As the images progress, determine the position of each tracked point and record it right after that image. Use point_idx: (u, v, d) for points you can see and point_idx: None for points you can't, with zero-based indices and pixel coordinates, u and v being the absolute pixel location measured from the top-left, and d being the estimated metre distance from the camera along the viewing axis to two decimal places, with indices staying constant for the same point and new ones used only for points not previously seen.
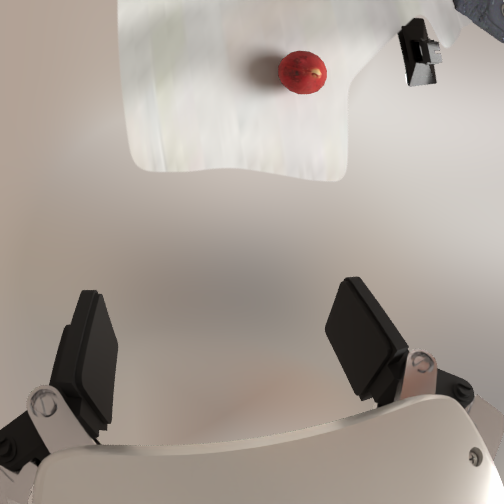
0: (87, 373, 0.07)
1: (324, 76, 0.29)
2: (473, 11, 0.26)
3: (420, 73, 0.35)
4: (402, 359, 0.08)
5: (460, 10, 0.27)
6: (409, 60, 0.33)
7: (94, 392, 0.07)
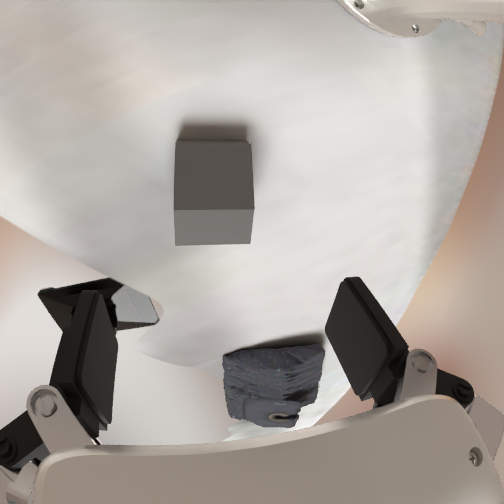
0: (87, 373, 0.07)
1: None
2: (239, 380, 0.36)
3: (62, 312, 0.26)
4: (402, 359, 0.08)
5: (226, 362, 0.34)
6: (72, 295, 0.25)
7: (94, 392, 0.07)
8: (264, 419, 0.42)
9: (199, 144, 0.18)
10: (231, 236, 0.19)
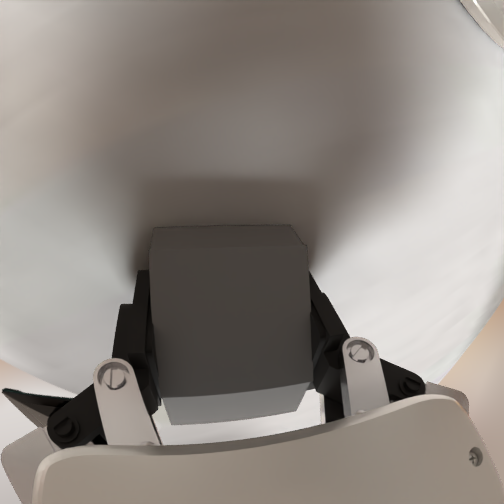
0: (154, 345, 0.08)
1: None
2: None
3: (34, 415, 0.16)
4: (342, 347, 0.09)
5: None
6: (46, 406, 0.15)
7: None
8: None
9: (200, 252, 0.09)
10: (267, 410, 0.10)
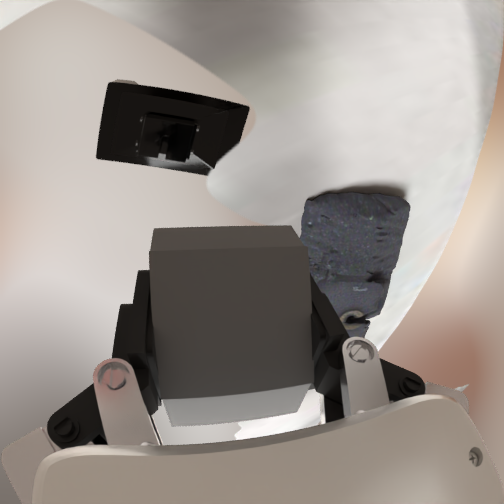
0: (154, 345, 0.08)
1: None
2: (319, 245, 0.31)
3: (124, 116, 0.20)
4: (342, 347, 0.09)
5: (308, 211, 0.29)
6: (157, 97, 0.20)
7: None
8: None
9: (200, 254, 0.09)
10: (268, 412, 0.10)
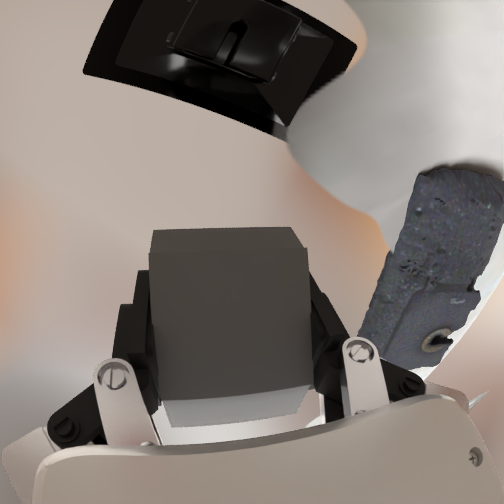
0: (154, 345, 0.08)
1: None
2: (425, 241, 0.19)
3: (153, 4, 0.09)
4: (342, 347, 0.09)
5: (419, 192, 0.17)
6: None
7: None
8: (414, 349, 0.25)
9: (200, 255, 0.09)
10: (267, 412, 0.10)
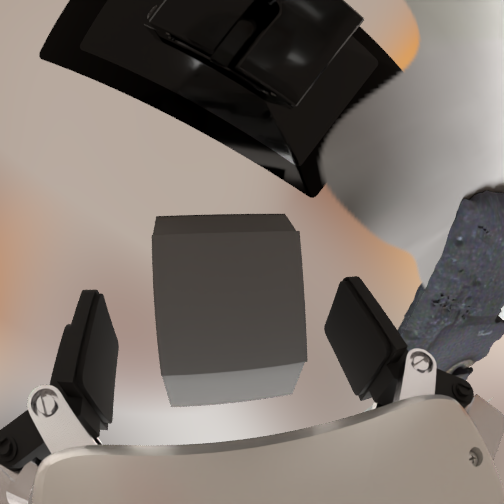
0: (88, 373, 0.07)
1: None
2: (462, 274, 0.15)
3: None
4: (401, 359, 0.08)
5: (462, 219, 0.14)
6: None
7: (95, 392, 0.07)
8: None
9: (199, 237, 0.09)
10: (264, 392, 0.11)
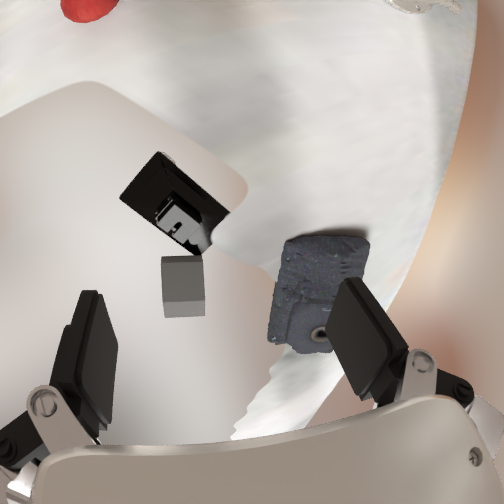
0: (87, 373, 0.07)
1: (78, 5, 0.13)
2: (295, 275, 0.40)
3: (155, 183, 0.30)
4: (402, 359, 0.08)
5: (287, 250, 0.38)
6: (183, 183, 0.31)
7: (94, 392, 0.07)
8: (306, 338, 0.45)
9: (174, 263, 0.34)
10: (194, 313, 0.35)
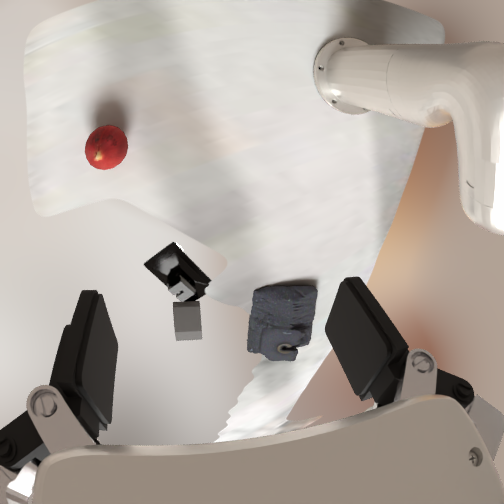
0: (87, 373, 0.07)
1: (101, 166, 0.31)
2: (262, 311, 0.58)
3: (169, 260, 0.48)
4: (402, 359, 0.08)
5: (255, 295, 0.56)
6: (187, 263, 0.49)
7: (94, 392, 0.07)
8: (274, 351, 0.63)
9: (181, 308, 0.52)
10: (195, 337, 0.53)
